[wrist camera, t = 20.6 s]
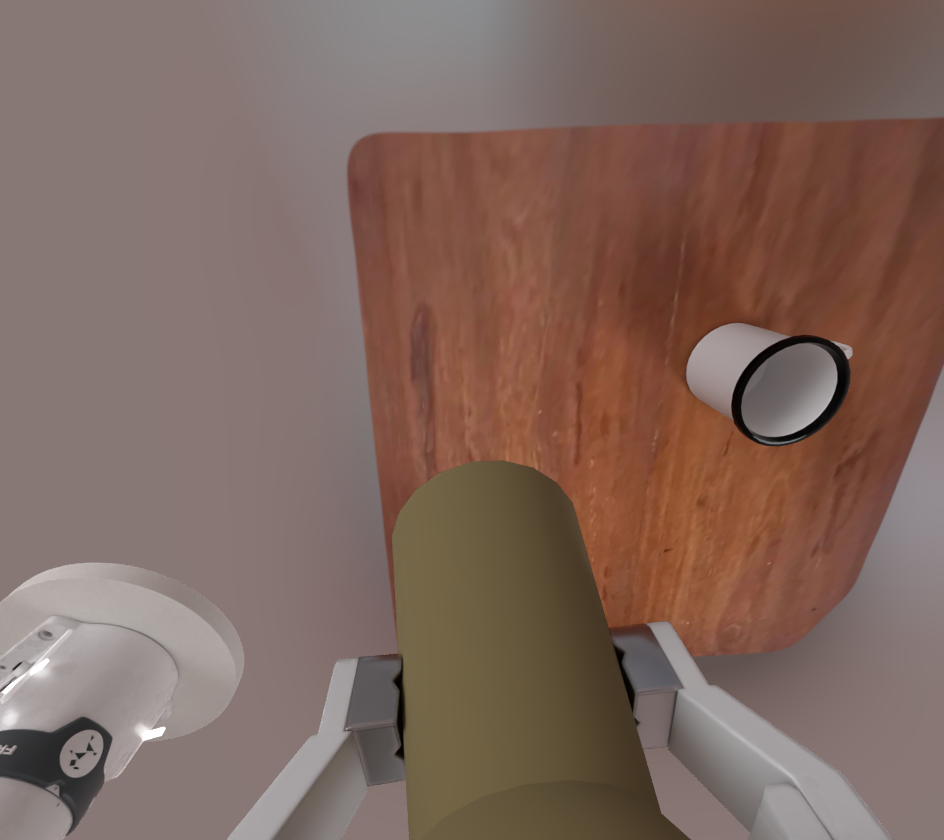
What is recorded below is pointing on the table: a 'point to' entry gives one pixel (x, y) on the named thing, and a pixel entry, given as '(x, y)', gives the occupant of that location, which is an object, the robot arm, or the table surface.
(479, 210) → the table surface
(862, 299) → the table surface
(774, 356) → the mug
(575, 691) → the brown pawn
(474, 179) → the table surface
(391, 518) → the table surface
